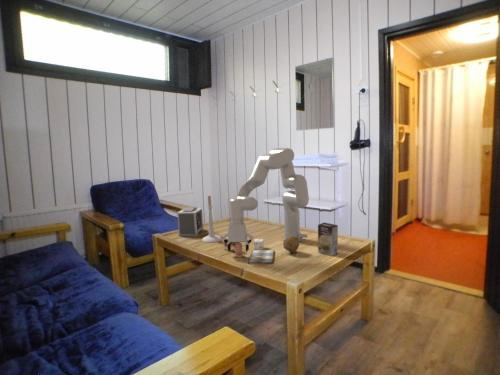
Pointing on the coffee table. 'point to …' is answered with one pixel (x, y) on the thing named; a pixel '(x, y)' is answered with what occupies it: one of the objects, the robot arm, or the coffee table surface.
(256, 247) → the die
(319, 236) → the coffee box
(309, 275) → the coffee table surface
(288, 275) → the coffee table surface
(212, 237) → the candlestick
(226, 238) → the bull figurine
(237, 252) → the pawn
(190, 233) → the alarm clock
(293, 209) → the robot arm
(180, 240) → the coffee table surface
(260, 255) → the board
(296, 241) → the natural sponge
